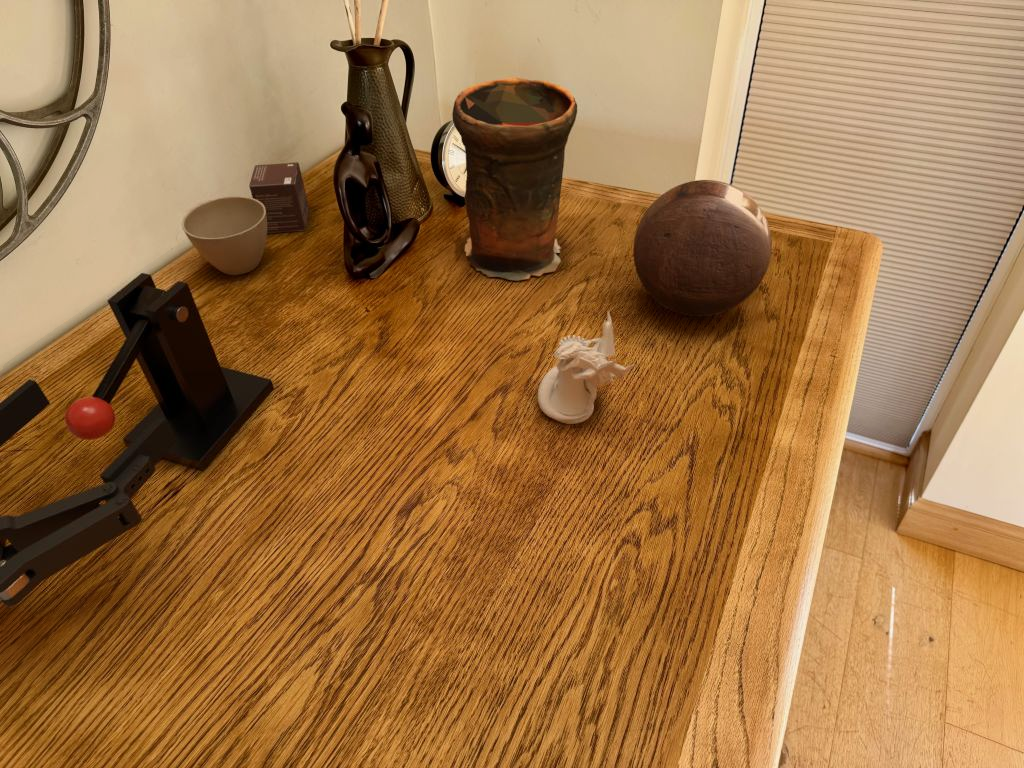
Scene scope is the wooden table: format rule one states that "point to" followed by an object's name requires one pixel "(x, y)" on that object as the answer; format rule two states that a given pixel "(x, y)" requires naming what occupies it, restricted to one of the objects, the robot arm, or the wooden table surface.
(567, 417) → the figurine
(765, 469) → the wooden table surface
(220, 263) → the flower pot
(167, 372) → the lever base
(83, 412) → the switch
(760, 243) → the wooden sphere
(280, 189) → the box
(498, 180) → the vessel
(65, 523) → the robot arm
